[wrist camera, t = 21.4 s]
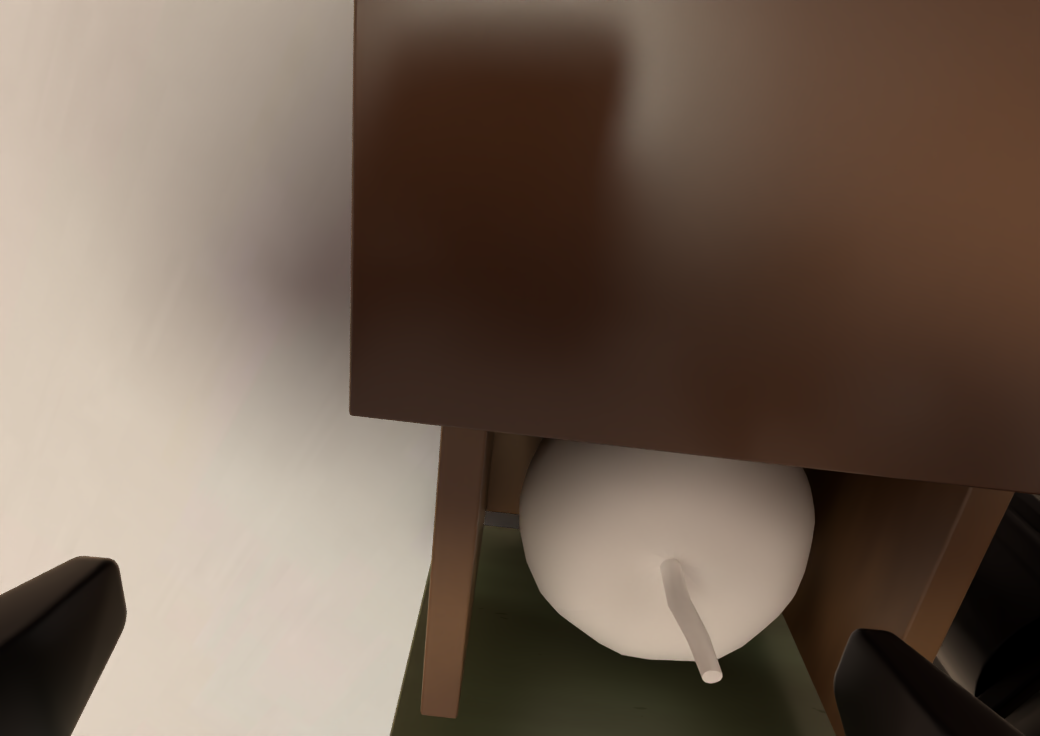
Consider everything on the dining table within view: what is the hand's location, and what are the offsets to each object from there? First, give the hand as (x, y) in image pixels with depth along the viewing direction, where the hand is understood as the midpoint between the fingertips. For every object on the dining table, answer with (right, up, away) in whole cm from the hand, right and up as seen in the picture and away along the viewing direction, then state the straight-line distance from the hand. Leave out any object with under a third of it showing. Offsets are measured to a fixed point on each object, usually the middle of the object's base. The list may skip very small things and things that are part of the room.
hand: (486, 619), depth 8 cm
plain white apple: (+4, +1, +12) cm, 13 cm away
